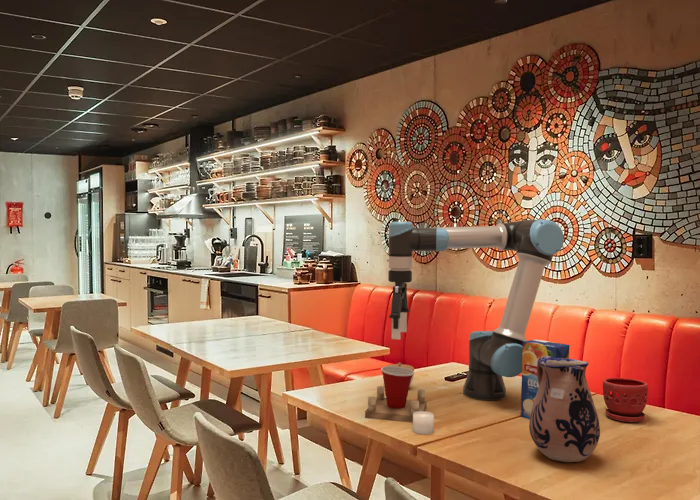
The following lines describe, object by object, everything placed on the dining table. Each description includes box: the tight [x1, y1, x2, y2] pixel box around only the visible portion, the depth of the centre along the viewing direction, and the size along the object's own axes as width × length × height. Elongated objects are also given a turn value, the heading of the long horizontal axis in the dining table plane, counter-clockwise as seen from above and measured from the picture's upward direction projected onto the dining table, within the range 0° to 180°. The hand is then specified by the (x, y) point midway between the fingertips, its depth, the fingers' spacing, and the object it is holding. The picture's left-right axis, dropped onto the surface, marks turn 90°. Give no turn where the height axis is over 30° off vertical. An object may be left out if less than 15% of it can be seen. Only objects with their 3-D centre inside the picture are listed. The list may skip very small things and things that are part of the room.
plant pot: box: [602, 377, 649, 423], centre depth 195 cm, size 13×13×12 cm
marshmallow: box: [412, 410, 435, 435], centre depth 179 cm, size 6×6×5 cm
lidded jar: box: [384, 362, 415, 386], centre depth 228 cm, size 11×11×9 cm
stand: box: [364, 385, 428, 423], centre depth 197 cm, size 17×17×6 cm
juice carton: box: [520, 338, 570, 420], centre depth 193 cm, size 12×8×24 cm, turn 41°
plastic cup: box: [380, 365, 415, 409], centre depth 197 cm, size 11×11×12 cm
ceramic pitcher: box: [528, 356, 601, 463], centre depth 162 cm, size 18×21×25 cm
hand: (399, 335), depth 198 cm, fingers open, 13 cm apart
